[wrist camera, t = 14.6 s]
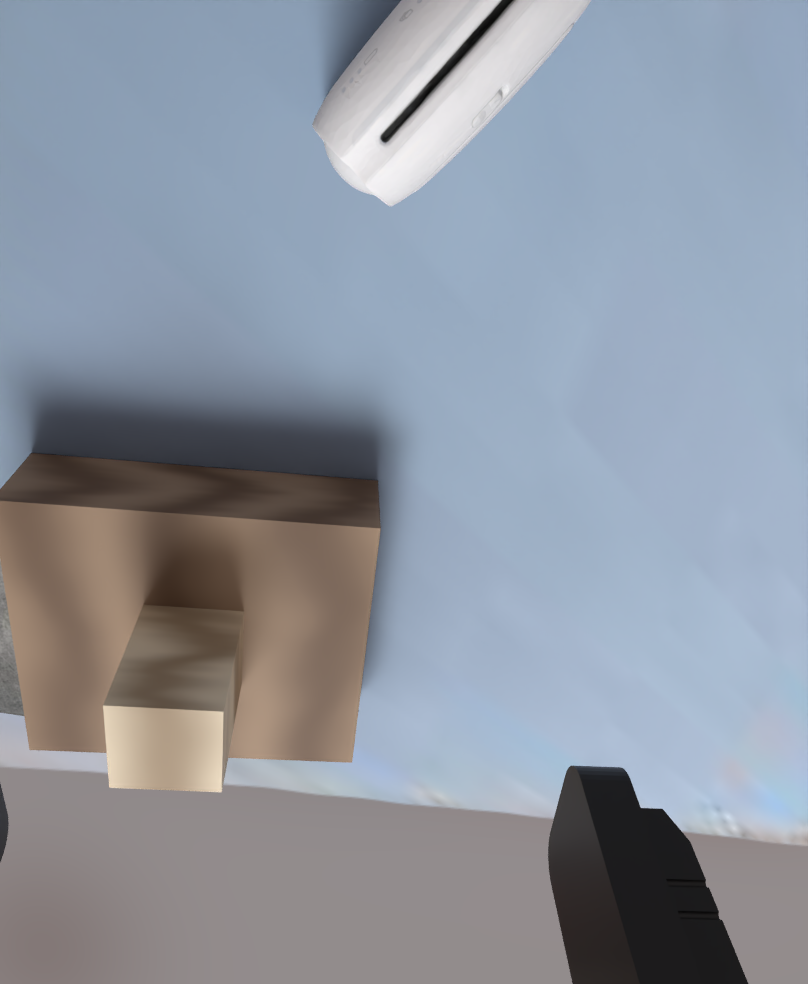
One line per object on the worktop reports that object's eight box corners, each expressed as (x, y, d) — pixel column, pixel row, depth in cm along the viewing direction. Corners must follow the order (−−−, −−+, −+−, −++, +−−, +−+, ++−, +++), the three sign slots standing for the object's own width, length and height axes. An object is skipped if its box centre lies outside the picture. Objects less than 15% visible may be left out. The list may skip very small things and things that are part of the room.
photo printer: (482, -93, 30) (556, -190, 19) (552, 0, 31) (657, -40, 20) (306, 116, 33) (282, 136, 22) (378, 190, 34) (389, 244, 24)
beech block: (244, 611, 39) (223, 711, 33) (241, 685, 41) (221, 792, 35) (143, 604, 38) (102, 705, 32) (146, 680, 41) (109, 787, 35)
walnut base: (377, 480, 41) (380, 528, 37) (352, 700, 49) (351, 762, 44) (31, 453, 39) (-9, 500, 35) (60, 686, 47) (29, 749, 43)
